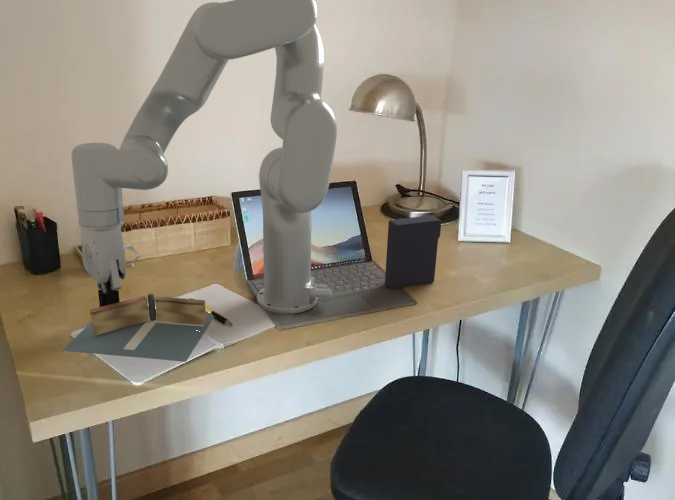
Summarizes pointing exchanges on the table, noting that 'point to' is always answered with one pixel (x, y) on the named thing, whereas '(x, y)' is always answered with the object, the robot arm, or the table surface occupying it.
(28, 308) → the table surface
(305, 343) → the table surface
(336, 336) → the table surface
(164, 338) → the card
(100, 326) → the fence gate
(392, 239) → the dark navy box
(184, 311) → the fence fixed
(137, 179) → the robot arm
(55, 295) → the table surface
